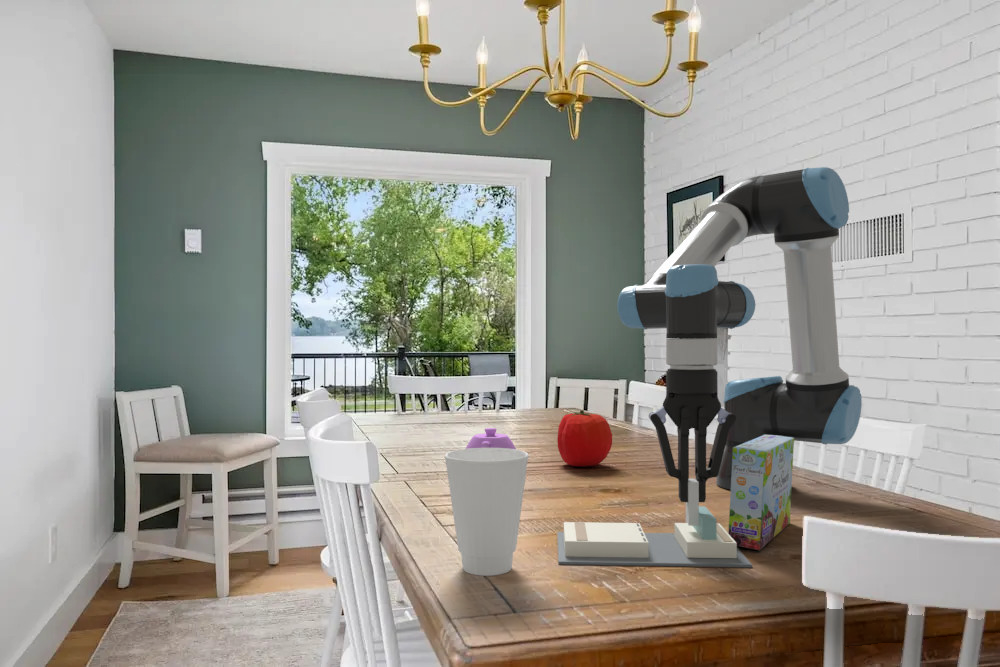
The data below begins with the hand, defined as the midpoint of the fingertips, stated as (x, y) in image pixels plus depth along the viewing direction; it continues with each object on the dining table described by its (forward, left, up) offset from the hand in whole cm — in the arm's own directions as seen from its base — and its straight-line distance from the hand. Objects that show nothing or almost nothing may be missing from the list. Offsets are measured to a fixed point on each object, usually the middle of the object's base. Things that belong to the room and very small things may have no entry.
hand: (692, 523), depth 113 cm
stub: (-2, 0, -4) cm, 4 cm away
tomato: (+13, -70, -4) cm, 71 cm away
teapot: (+35, -61, -4) cm, 70 cm away
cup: (+30, +10, -4) cm, 32 cm away
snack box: (-13, -9, -4) cm, 16 cm away
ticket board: (+7, 0, -4) cm, 8 cm away
